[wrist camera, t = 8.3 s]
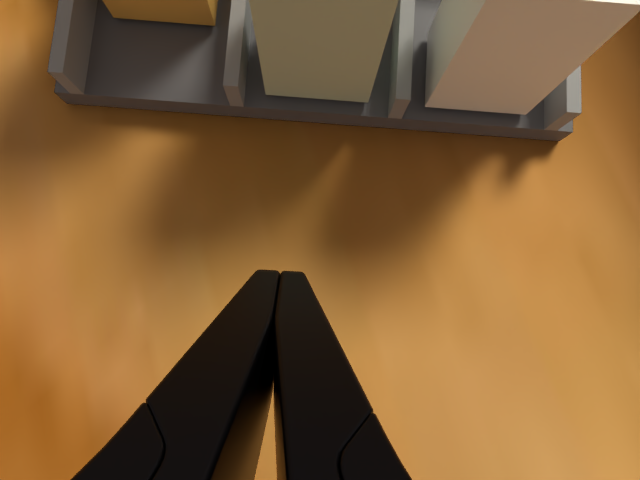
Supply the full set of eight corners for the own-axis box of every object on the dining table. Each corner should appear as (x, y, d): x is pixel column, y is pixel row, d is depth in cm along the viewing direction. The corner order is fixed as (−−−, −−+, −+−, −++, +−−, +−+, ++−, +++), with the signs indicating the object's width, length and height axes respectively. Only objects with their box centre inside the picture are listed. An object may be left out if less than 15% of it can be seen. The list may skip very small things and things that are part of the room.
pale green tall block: (368, 102, 22) (403, -15, 14) (265, 94, 22) (244, -28, 14) (372, 28, 23) (407, -124, 15) (272, 21, 23) (254, -137, 15)
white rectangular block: (525, 114, 22) (646, 5, 14) (424, 107, 22) (490, -8, 14) (526, 41, 23) (643, -104, 15) (427, 33, 23) (492, -117, 15)
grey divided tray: (559, 140, 24) (598, 114, 21) (66, 103, 23) (29, 70, 20) (559, -15, 25) (595, -62, 22) (90, -53, 25) (58, -107, 21)
